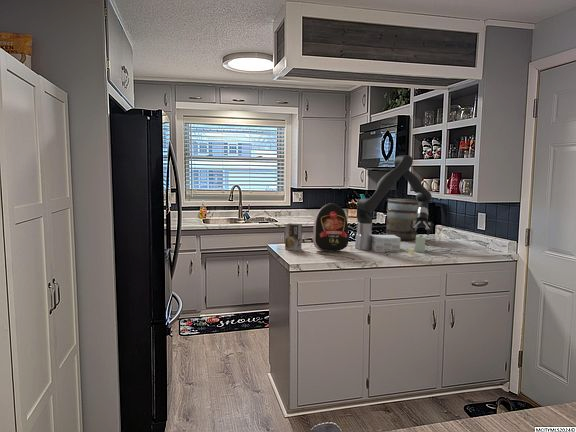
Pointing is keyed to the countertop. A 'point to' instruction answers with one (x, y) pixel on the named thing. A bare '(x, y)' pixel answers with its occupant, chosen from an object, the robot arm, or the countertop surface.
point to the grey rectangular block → (420, 243)
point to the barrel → (401, 218)
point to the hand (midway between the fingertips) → (420, 234)
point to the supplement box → (385, 243)
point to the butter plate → (411, 253)
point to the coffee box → (293, 236)
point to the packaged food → (330, 228)
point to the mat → (421, 252)
